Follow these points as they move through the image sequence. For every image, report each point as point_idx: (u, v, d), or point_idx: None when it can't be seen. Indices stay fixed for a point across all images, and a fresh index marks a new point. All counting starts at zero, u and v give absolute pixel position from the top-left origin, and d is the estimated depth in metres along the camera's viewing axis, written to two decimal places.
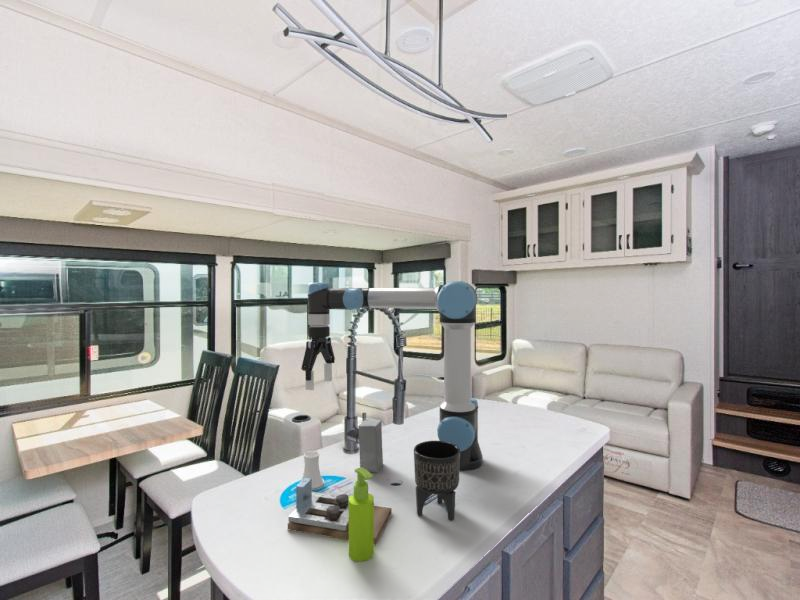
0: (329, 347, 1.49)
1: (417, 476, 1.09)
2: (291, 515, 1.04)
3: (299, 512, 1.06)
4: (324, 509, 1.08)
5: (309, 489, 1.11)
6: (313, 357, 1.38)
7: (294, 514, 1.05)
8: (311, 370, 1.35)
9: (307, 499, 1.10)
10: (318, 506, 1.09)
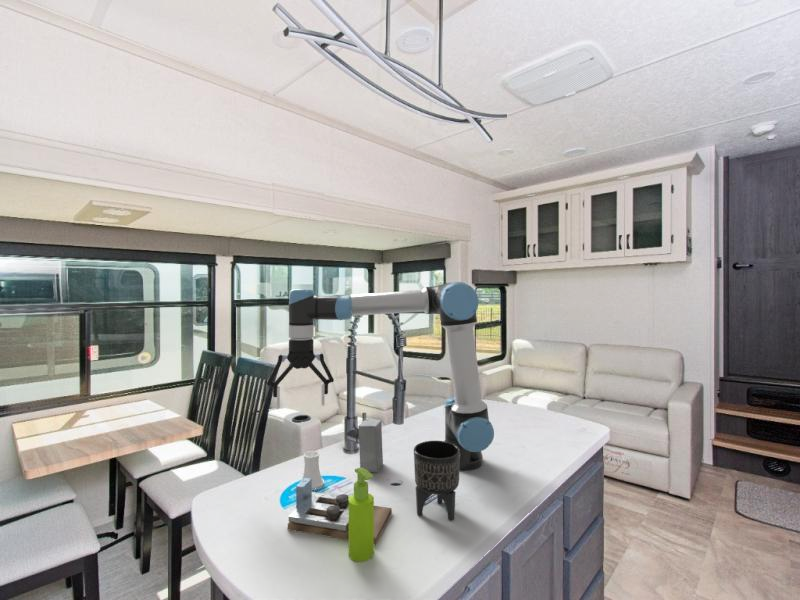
0: (322, 365, 1.27)
1: (417, 476, 1.09)
2: (291, 515, 1.04)
3: (299, 512, 1.06)
4: (324, 509, 1.08)
5: (309, 489, 1.11)
6: (283, 372, 1.23)
7: (294, 514, 1.05)
8: (275, 386, 1.22)
9: (307, 499, 1.10)
10: (318, 506, 1.09)
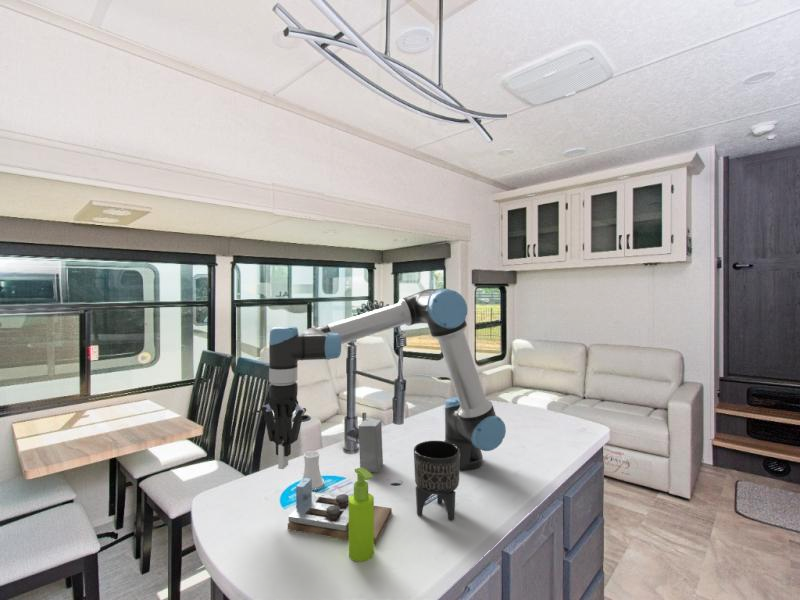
0: None
1: (417, 476, 1.09)
2: (291, 515, 1.04)
3: (299, 512, 1.06)
4: (324, 509, 1.08)
5: (309, 489, 1.11)
6: None
7: (294, 514, 1.05)
8: (277, 443, 1.10)
9: (307, 499, 1.10)
10: (318, 506, 1.09)
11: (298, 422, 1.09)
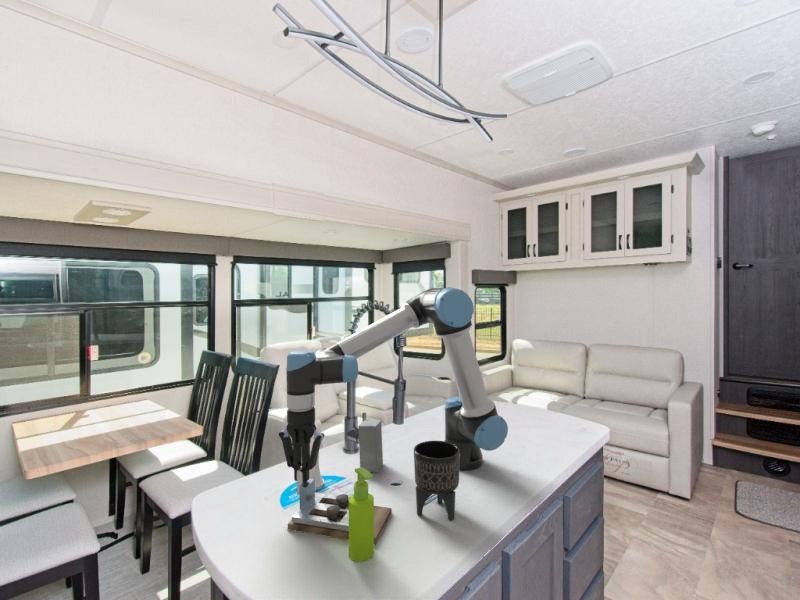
0: None
1: (417, 476, 1.09)
2: (294, 516, 1.04)
3: (302, 513, 1.06)
4: None
5: (312, 489, 1.10)
6: None
7: (297, 515, 1.05)
8: (296, 469, 1.09)
9: (310, 499, 1.10)
10: (321, 507, 1.08)
11: (316, 448, 1.08)
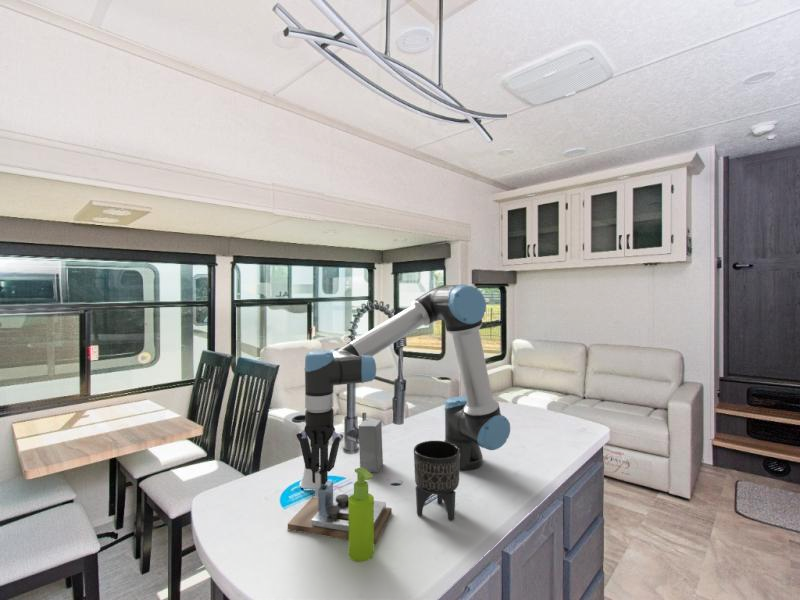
0: None
1: (417, 476, 1.09)
2: (314, 519, 1.03)
3: (321, 516, 1.04)
4: (346, 512, 1.06)
5: (330, 492, 1.09)
6: None
7: (317, 518, 1.03)
8: (314, 471, 1.08)
9: (329, 502, 1.08)
10: (340, 510, 1.07)
11: (335, 449, 1.07)
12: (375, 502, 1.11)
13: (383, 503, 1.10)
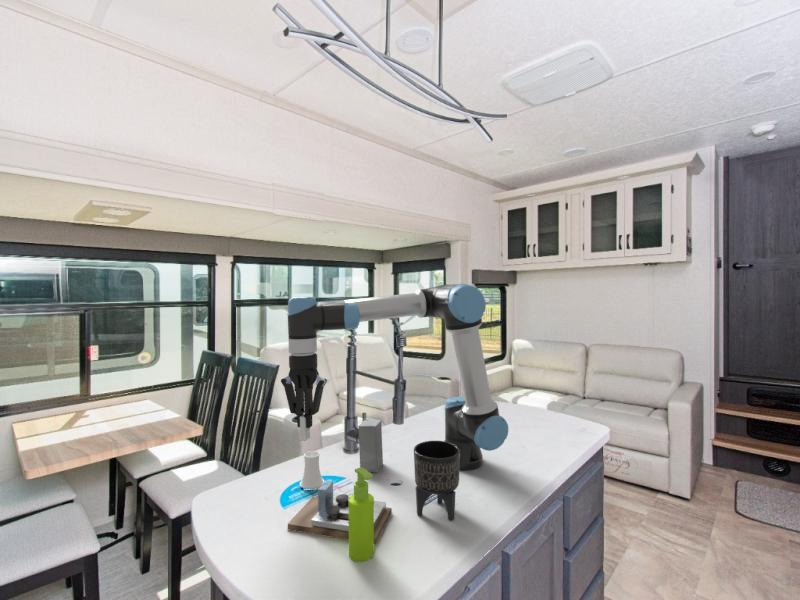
0: None
1: (417, 476, 1.09)
2: (314, 519, 1.03)
3: (321, 516, 1.04)
4: (346, 512, 1.06)
5: (330, 492, 1.09)
6: None
7: (317, 518, 1.03)
8: (299, 415, 1.09)
9: (329, 502, 1.08)
10: (340, 510, 1.07)
11: (319, 393, 1.08)
12: (375, 502, 1.11)
13: (383, 503, 1.10)
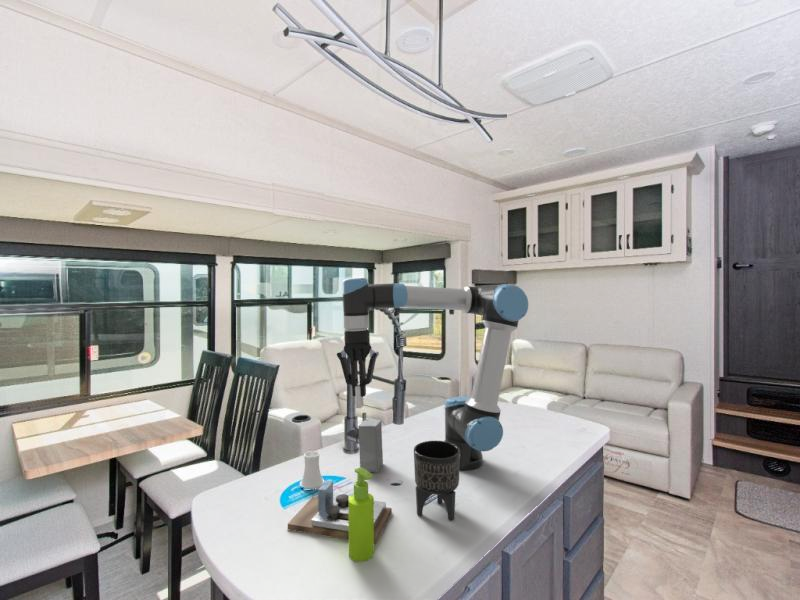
0: (369, 363, 1.19)
1: (417, 476, 1.09)
2: (314, 519, 1.03)
3: (321, 516, 1.04)
4: (346, 512, 1.06)
5: (330, 492, 1.09)
6: None
7: (317, 518, 1.03)
8: (354, 385, 1.20)
9: (329, 502, 1.08)
10: (340, 510, 1.07)
11: (373, 364, 1.19)
12: (375, 502, 1.11)
13: (383, 503, 1.10)
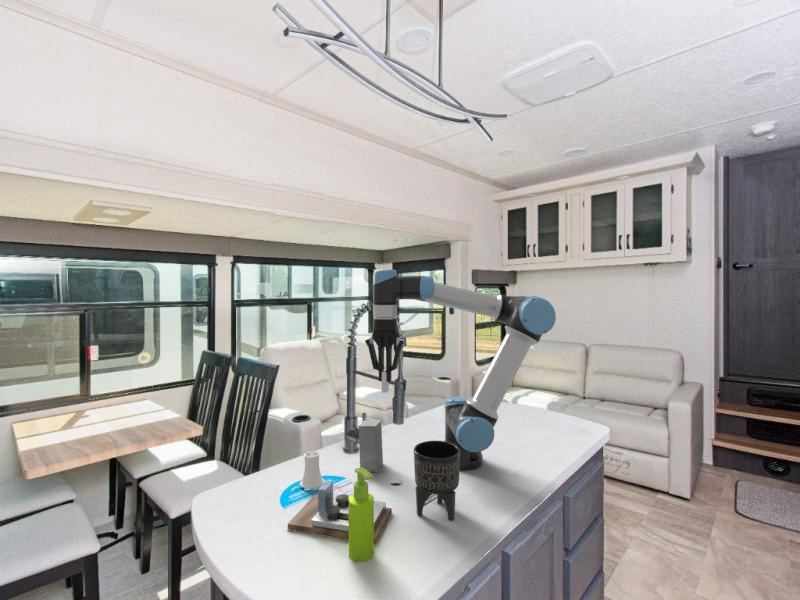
0: (396, 350, 1.26)
1: (417, 476, 1.09)
2: (314, 519, 1.03)
3: (321, 516, 1.04)
4: (346, 512, 1.06)
5: (330, 492, 1.09)
6: None
7: (317, 518, 1.03)
8: (381, 370, 1.27)
9: (329, 502, 1.08)
10: (340, 510, 1.07)
11: (399, 351, 1.26)
12: (375, 502, 1.11)
13: (383, 503, 1.10)
